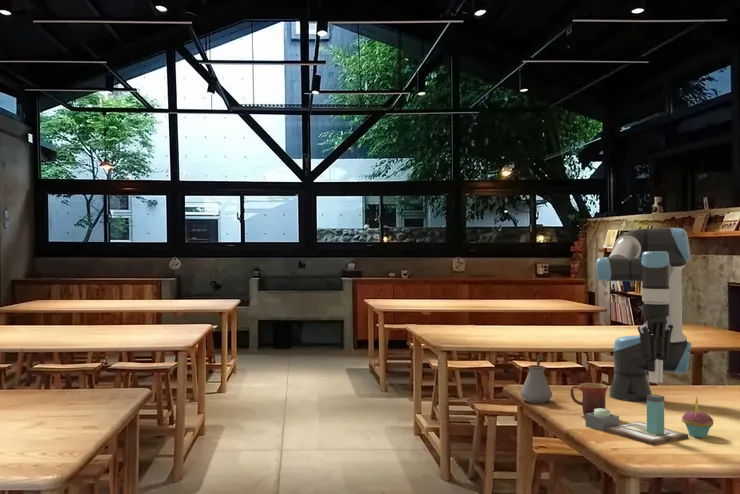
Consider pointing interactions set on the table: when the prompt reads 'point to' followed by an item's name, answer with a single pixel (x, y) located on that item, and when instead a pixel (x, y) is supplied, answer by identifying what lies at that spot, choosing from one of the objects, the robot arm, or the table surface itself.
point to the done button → (602, 412)
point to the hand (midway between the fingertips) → (655, 381)
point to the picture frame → (645, 433)
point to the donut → (697, 422)
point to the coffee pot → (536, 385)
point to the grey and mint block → (655, 414)
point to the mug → (591, 396)
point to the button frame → (601, 421)
